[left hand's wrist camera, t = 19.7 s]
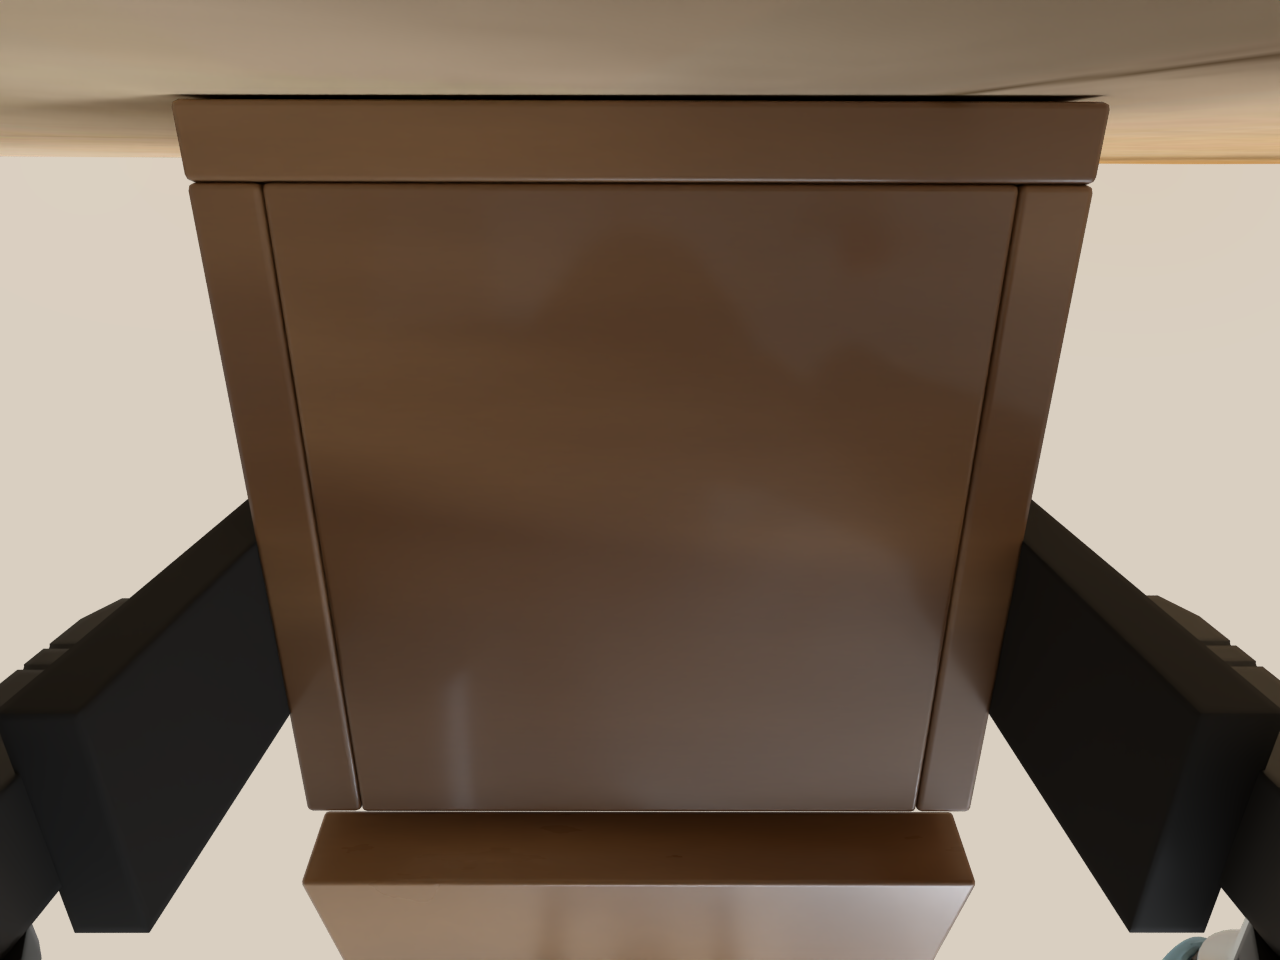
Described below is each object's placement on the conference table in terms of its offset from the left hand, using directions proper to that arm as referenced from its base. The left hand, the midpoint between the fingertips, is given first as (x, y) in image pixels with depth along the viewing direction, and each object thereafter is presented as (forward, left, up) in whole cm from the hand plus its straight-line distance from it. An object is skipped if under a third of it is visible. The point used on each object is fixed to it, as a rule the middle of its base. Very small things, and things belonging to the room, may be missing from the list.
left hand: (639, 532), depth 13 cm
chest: (+4, -3, -6) cm, 8 cm away
